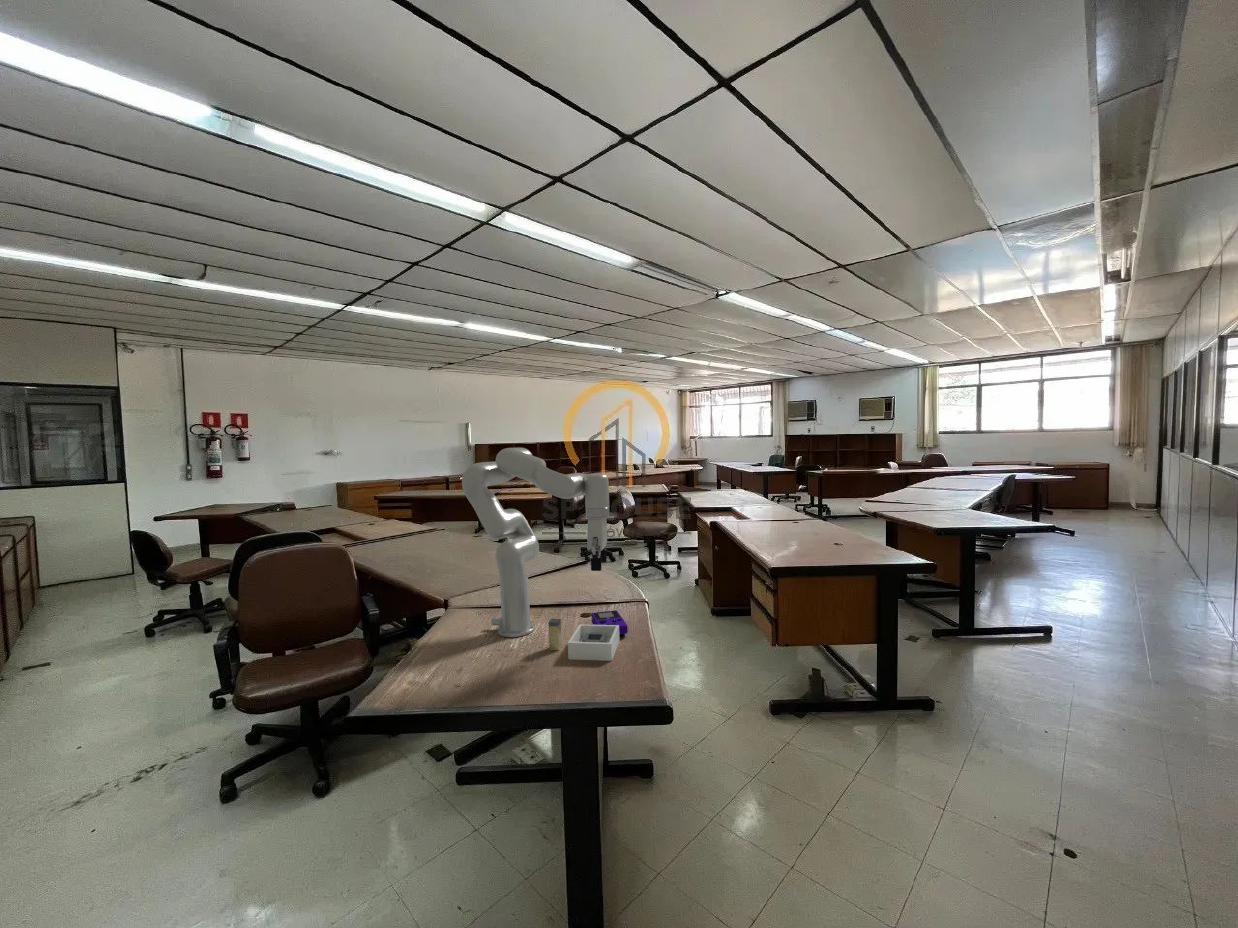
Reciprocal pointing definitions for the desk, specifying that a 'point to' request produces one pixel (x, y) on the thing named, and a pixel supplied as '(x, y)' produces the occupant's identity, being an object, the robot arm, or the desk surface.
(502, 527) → the robot arm
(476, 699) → the desk surface
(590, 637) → the box
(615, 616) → the handheld gaming console
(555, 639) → the peg
